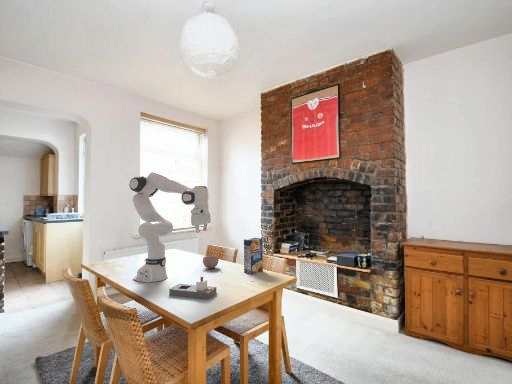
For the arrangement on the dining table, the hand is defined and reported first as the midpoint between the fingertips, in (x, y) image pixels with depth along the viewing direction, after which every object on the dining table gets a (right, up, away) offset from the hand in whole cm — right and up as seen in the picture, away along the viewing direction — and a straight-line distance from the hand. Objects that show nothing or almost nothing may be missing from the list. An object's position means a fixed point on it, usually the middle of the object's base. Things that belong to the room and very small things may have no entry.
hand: (201, 231), depth 177 cm
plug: (+5, -32, -25) cm, 41 cm away
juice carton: (+33, -33, +24) cm, 53 cm away
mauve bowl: (0, -34, +35) cm, 49 cm away
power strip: (0, -32, -23) cm, 40 cm away
